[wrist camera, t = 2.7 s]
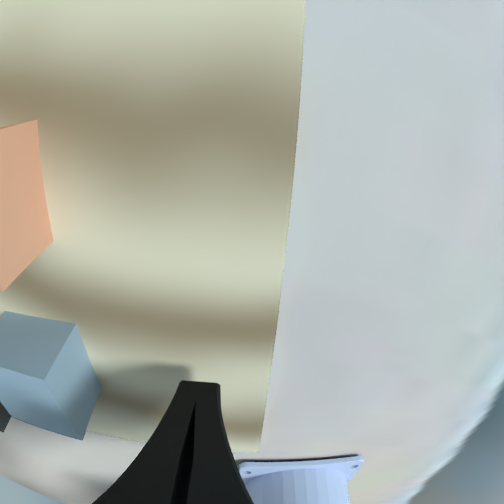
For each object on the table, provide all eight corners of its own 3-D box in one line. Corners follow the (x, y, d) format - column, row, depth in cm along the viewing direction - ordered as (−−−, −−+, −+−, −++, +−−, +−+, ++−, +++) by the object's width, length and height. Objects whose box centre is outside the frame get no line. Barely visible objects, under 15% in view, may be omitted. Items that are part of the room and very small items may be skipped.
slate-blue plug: (101, 388, 13) (82, 440, 10) (35, 372, 13) (12, 416, 10) (76, 323, 11) (44, 379, 8) (5, 310, 11) (-30, 356, 8)
